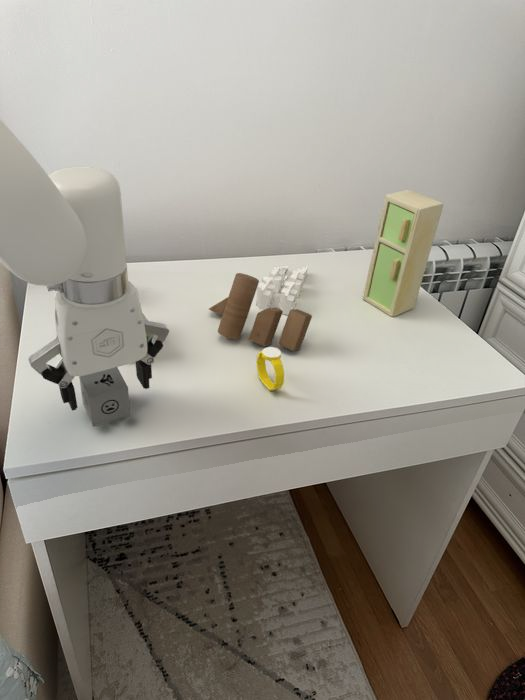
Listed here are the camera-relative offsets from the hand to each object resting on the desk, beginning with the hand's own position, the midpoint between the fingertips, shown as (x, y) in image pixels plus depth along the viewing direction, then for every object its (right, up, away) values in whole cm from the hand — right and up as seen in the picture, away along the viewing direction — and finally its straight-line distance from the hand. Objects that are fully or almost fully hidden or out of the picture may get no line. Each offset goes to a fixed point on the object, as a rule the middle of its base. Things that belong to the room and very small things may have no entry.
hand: (108, 392), depth 71 cm
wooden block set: (+18, +8, +19) cm, 28 cm away
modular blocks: (+25, +17, +33) cm, 45 cm away
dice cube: (-1, -3, +1) cm, 3 cm away
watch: (+21, 0, +9) cm, 23 cm away
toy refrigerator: (+45, +14, +32) cm, 57 cm away
